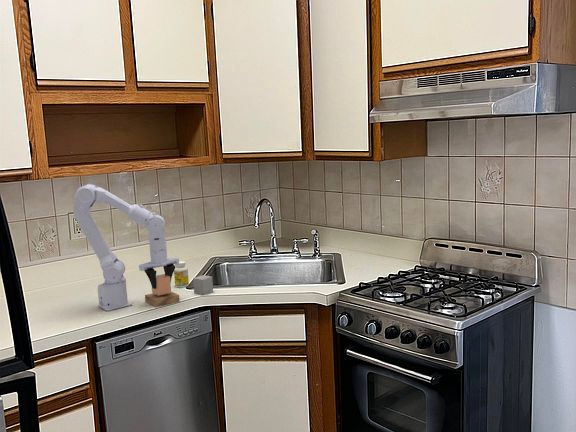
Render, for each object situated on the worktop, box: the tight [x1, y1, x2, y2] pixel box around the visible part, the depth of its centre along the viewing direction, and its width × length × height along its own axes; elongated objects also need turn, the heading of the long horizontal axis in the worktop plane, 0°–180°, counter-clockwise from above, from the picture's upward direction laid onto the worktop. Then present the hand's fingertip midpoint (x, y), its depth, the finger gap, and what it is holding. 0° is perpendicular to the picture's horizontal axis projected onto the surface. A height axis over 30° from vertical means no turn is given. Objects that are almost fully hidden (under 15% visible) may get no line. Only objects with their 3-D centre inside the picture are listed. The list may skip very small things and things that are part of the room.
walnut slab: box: [144, 291, 180, 308], centre depth 208 cm, size 9×9×3 cm
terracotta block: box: [151, 273, 172, 296], centre depth 207 cm, size 5×5×6 cm
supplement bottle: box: [173, 260, 190, 289], centre depth 228 cm, size 5×5×10 cm
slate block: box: [192, 274, 214, 296], centre depth 217 cm, size 5×5×6 cm
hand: (161, 286), depth 207 cm, fingers closed on terracotta block, 5 cm apart
